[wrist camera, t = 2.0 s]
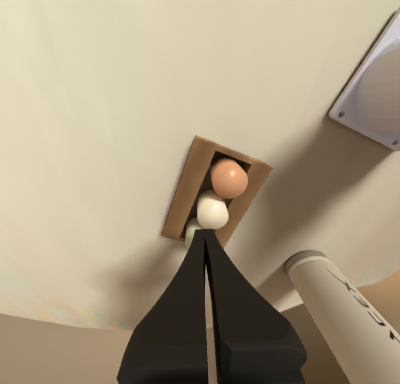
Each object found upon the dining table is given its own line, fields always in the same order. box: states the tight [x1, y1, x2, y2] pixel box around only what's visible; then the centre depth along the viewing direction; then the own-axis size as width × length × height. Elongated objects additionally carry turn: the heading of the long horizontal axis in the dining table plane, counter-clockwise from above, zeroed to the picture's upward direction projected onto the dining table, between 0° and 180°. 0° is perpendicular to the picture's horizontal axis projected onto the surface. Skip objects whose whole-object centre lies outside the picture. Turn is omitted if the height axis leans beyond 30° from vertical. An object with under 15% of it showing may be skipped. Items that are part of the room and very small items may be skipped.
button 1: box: [185, 217, 206, 251], centre depth 17 cm, size 3×3×3 cm
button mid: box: [197, 190, 229, 230], centre depth 15 cm, size 3×3×3 cm
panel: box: [162, 135, 272, 248], centre depth 17 cm, size 8×12×2 cm, turn 159°
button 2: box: [210, 158, 248, 199], centre depth 14 cm, size 3×3×3 cm
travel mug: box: [285, 250, 400, 384], centre depth 15 cm, size 6×7×20 cm
